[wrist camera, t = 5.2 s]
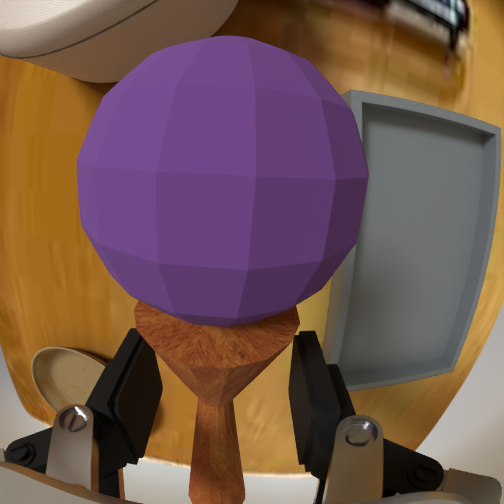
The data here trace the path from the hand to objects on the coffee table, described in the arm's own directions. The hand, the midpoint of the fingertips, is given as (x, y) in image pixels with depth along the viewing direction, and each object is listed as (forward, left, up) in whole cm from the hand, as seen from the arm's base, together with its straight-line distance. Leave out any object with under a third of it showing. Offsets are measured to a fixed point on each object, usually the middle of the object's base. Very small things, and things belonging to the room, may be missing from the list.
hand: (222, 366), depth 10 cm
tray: (0, +16, -14) cm, 21 cm away
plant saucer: (+16, -17, -14) cm, 28 cm away
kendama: (0, 0, -1) cm, 1 cm away
